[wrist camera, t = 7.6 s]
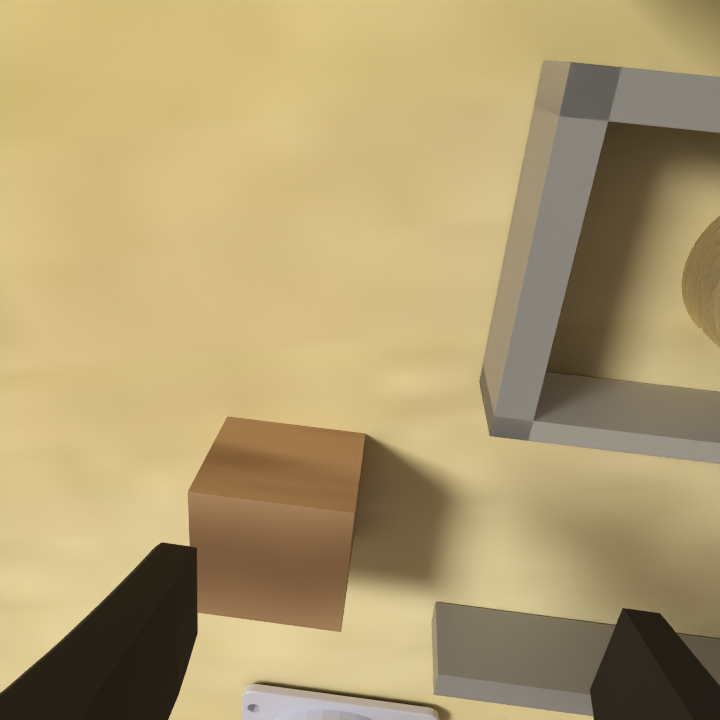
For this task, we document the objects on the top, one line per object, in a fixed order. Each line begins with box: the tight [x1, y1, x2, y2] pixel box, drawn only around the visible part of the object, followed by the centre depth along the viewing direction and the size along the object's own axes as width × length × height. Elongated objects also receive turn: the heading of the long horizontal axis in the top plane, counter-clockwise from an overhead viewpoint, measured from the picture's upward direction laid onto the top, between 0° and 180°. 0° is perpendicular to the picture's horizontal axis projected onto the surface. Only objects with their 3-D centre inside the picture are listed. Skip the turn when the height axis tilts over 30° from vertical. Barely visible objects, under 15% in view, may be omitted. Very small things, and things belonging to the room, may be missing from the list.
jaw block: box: [188, 417, 365, 632], centre depth 20 cm, size 4×4×4 cm
